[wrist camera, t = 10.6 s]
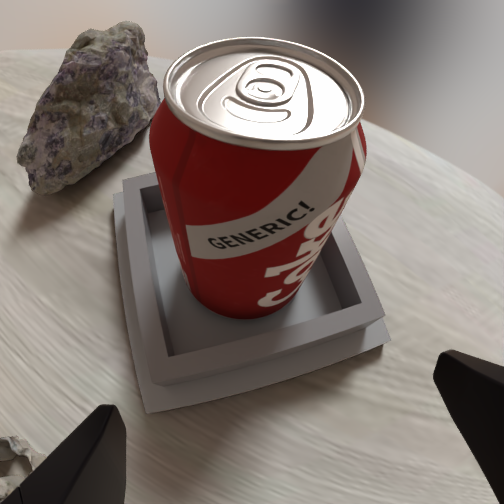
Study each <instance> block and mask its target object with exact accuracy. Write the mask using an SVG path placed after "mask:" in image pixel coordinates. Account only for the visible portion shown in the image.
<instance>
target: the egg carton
mask: <svg viewBox="0 0 504 504" xmlns="http://www.w3.org/2000/svg"><path fill="white" fill-rule="evenodd" d="M16 454H18V456H25V457H28V458H29V462H30V464H31V465H32V470H33V471H34V470H35V469H36V468H37V467H38V466H39V465H40V464H41V463H42V462H43V461H44V460H45V459H46V458H47V457H46V455H45V454H41V453H38V452H36V451H35V450H34V449H33V448H32V447H31V446H30V444H29V443H28V441H27V440H26V439H21V440H19V437H18V436H12V437H2V438H0V461H5V460H12V459H13V458H14V457H15V456H16ZM29 474H30V473H29ZM24 479H25V478H24V477H23V476H20V475H11V476H6V477H0V503H1V502H2V501H3V500H4V499H5V498H6V497H7V496H8V495H9V494H10V493H11V492H12V491H13V490H14V489H15V488H16V487H17V486H19V485H20V483H21V482H22V481H23V480H24ZM19 487H20V486H19Z"/></svg>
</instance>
